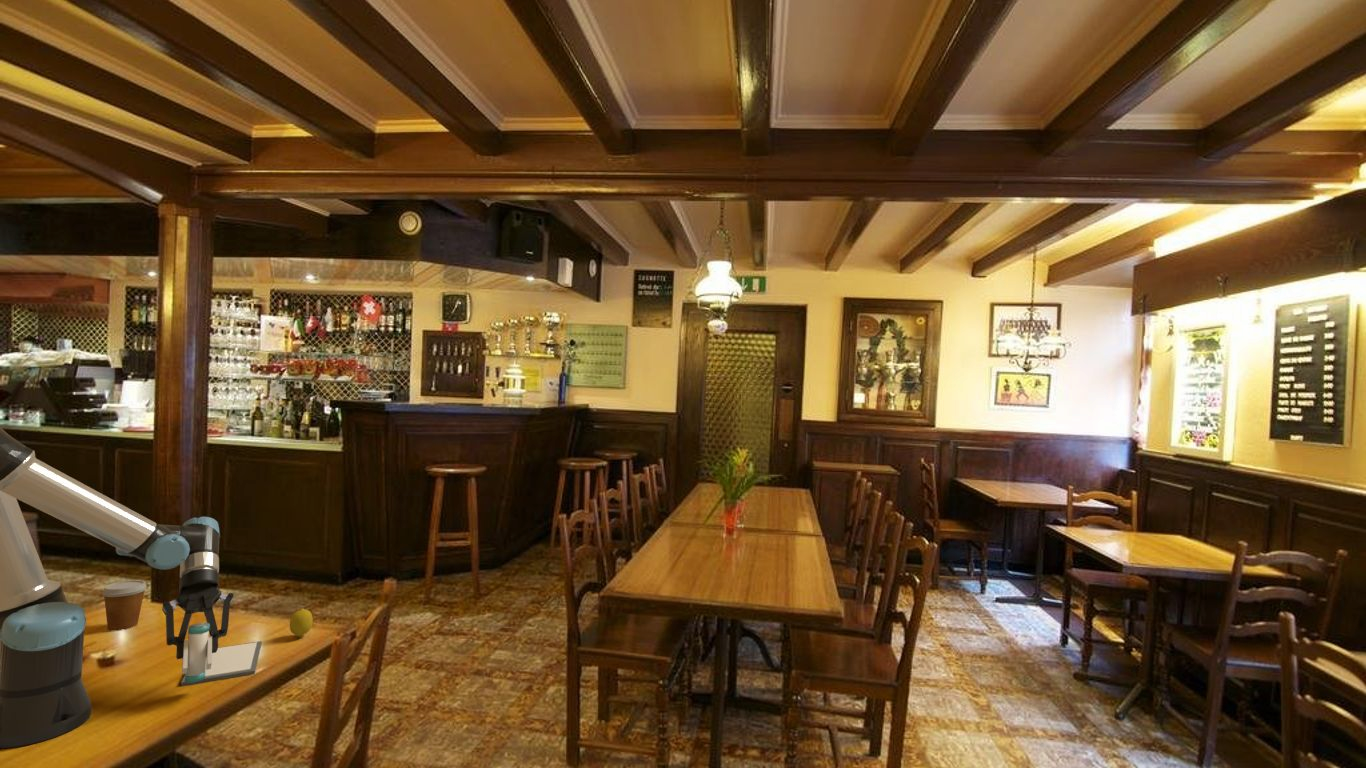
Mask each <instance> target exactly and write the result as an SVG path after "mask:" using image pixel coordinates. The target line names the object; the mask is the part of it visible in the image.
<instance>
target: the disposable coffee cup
mask: <svg viewBox="0 0 1366 768" xmlns="http://www.w3.org/2000/svg"><path fill="white" fill-rule="evenodd" d="M147 588H148V585H147V584H146V581H145V580H141V579H139V580H138V579H136V580H135V579H134V580H124V581H118V582H113V583H110V584H107V585H106V586H104V588H103V590H102V592H101V594H102V596H103V599H104V608H105V616H106V624H107V625H106V626H107V631H111V630H117V631H123V630H122V629H124V630H127V628H129V629H131V627H132V628H134V627H136V626H138V624H139V619H140V618H139V617H140V614H141V609H142V603H143V600H144V599H143V598H144V595H145V591H146V589H147ZM133 626H134V627H133Z"/></svg>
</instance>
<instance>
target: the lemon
mask: <svg viewBox="0 0 1366 768" xmlns="http://www.w3.org/2000/svg"><path fill="white" fill-rule="evenodd" d="M313 619H314V618H313V614H312V612H311V611H310V610H308V609H305V608H303V607H302V608H300V609H299V610H297V611H295V612H294V613H292V615H291V617H290V620H289V629H290V630H289V631H290V633H292V634H293V635H294V636H297V637H298V638H303V636H305V635H306V634H308V632H310V630H311V629H312V626H313V623H314V622H313V621H314V620H313Z"/></svg>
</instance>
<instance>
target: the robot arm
mask: <svg viewBox="0 0 1366 768" xmlns="http://www.w3.org/2000/svg"><path fill="white" fill-rule="evenodd" d="M18 501H20V502H23V503H25V504H26V505H29V506H31V507H32V508H35V509H36V510H39V511H41V512H43V513H45V514H48V515H49V516H52V517H53V518H56V519H57V520H60V521H62V522H63V523H65V524H68V525H69V526H72V527H74V528H76V529H78V530H80V531H81V532H84V533H86V534H87V535H90V536H92V537H94V538H96V539H99V540H101V541H102V542H105V543H106V544H109V545H111V546H112V547H115V552H116V554H117V555H119V556H126V557H135V558H137V559H138V560H141V561H143V562H144V563H147V565H148V566H150V567H152V568H154V569H158V570H172V569H174V568H177V567H178V566H179V567H180V568H179V584H178V587H179V588H178V595H177V596H176V597H175V599H173V600H171V601H167V600H166V601H163V603H162V607H161V610H162V612H163V614H164V615H165V636H166V637H165V639H166V645H167V646H173V645H174V646H176V655H175V657H176V660H181V659H182V664H181V666H182V667H181V668H182V669H181V675H185V674H186V673H187V666H188V639H186V636H187V634H188V628H189V626H190V622H191V618H192V615H193V614H196V613H204V616H205V620H206V623H209V624H210V628H209V634H208V644H207V659H206V670H208V669H211V664H212V653H216V652H217V650H218V647H219V639H220V638H221V637H223V638H224V637H225V636H227V635H228V630H229V620H230V608H231V604H232V603H233V600H234V593H232V592H230V593H228V594H227V593H222V591H221V589H220V574H219V572H220V558H219V557H220V556H219V555H220V554H219V553H220V552H219V551H220V538H221V535H220V527H219V522H218V521H217V520H216V519H215V518H213V517H209V516H200V517H192V518H190V519H188V520H187V521H185V522H184V523H183V524H182V525H174V524H172V525H170V524H158V523H156V522H155V521H153V520H151V519H149V518H147V517H146V516H143V515H142V514H140V513H138V512H136V511H134V510H132V509H130V508H129V507H127V506H126V505H123V504H122V503H119V502H117V501H116V500H114V499H112V498H110V497H108V496H107V495H105V494H103V493H101V492H99V491H97V490H95V489H94V488H92V487H90V486H88V485H86V484H84V483H82V482H81V481H79V480H77V479H75V478H73V477H71V476H69V475H67V474H66V473H64V472H62V471H60V470H58V469H56V468H55V467H52V466H51V465H49V464H47V463H45V462H44V461H41V460H40V459H38V458H37V457H36V453H35V450H34V449H32V448H30V447H28V446H26V445H24V444H23V443H21V442H20V441H18V440H17V439H16V438H14V437H13V436H11V435H10V434H8V432H7V431H5V430H4V429H3V428H2V427H1V426H0V749H7V748H17V747H22V746H27V745H31V744H32V745H33V744H36V743H40V742H43V741H48V740H51V739H53V738H56V737H59V736H61V735H64V734H66V733H68V732H71V731H73V730H75V729H76V728H78V727H80V726H81V725H83V724H84V723H86V722H87V721H88V720H89V719H90V718H91V716H92V701H91V699H90V696H89V694H88V692H87V690H86V687H85V685H84V682H83V678H82V673H83V661H84V660H83V657H84V641H85V640H84V639H85V638H84V637H85V628H86V624H87V618H86V612H85V609H84V608H83V607H82V606H81V605H80V604H78V603H74V602H68V600H67V598H66V595H65V592H64V591H63V588H62V585H61V583H60V582H59V581H56V580H51V579H48V576H47V575H46V572H45V569H44V566H43V563H42V561H41V559H40V556H39V554H38V551H37V549H36V546H35V543H34V541H33V537H32V536H31V533H30V530H29V528H28V526H27V522H26V520H25V517H24V515H23V513H22V510H21V507H20V505H19V502H18ZM219 600H220V604H221V605H223V606H222V611H221V623H220V624H221V625H220V629H218V625H217V622H216V617H215V613H214V609H213V608H214V606H215V604H217V602H218V601H219ZM176 606H178V607H179V608H181V609H182V610H183V612H184V616H183V618H182V622H181V626H180V629H179V632H178V636H175V619H174V618H175V617H174V612H175V610H176V609H177V608H176Z"/></svg>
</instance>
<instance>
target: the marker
mask: <svg viewBox="0 0 1366 768" xmlns="http://www.w3.org/2000/svg"><path fill="white" fill-rule="evenodd" d="M209 628H210V624H209V623H207V622H199V623H193V624H191V625H189V626H188V630H187V634H188V636H187V640H188V666H187V673H186V674H184V676H185V682H186V683H194V682H198V681H201V680H203V679H204V678H205V670H206V658H207V644H208V637H209V635H210V634H209Z"/></svg>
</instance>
